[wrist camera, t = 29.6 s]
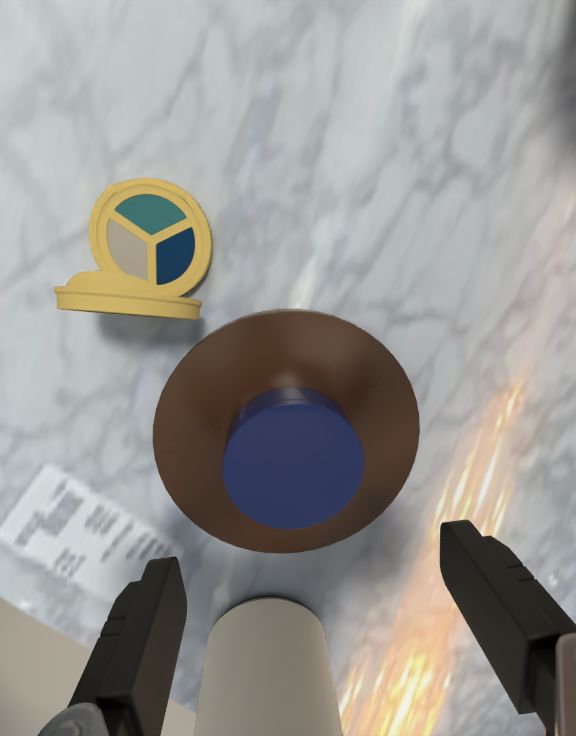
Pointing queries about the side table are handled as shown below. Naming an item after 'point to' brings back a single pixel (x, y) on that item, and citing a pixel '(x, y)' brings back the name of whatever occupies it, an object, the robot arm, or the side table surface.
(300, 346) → the coaster
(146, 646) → the robot arm
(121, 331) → the side table surface
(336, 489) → the jar lid
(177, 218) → the eyeshadow
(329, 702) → the can
